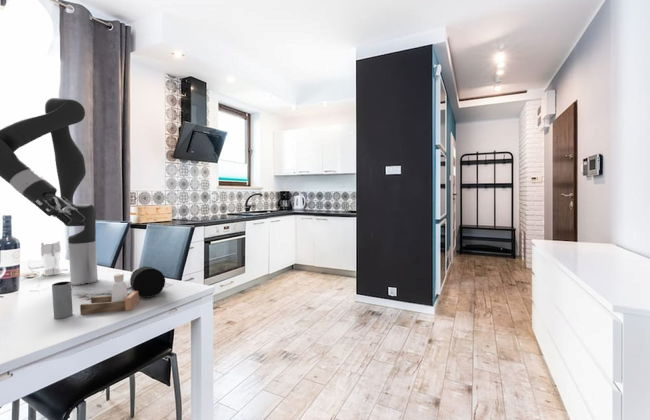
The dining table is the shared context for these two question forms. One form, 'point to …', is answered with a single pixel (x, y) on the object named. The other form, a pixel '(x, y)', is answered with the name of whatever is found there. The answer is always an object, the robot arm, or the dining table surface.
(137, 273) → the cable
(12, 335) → the dining table surface
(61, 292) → the planter
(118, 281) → the pepper shaker
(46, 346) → the dining table surface
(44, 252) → the beer glass
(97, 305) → the guide channel
